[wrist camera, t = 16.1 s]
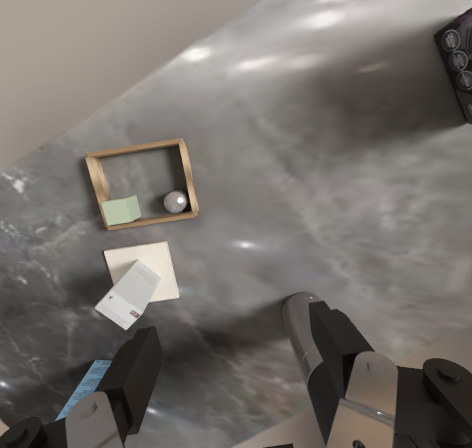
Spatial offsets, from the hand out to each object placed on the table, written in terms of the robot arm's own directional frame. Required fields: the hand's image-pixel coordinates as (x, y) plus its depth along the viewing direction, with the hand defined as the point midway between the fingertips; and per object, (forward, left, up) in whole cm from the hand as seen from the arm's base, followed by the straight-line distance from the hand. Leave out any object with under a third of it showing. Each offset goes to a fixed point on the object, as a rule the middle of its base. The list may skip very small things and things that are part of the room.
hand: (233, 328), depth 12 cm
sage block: (+4, +19, -34) cm, 39 cm away
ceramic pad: (-10, +19, -34) cm, 40 cm away
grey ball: (+4, +9, -34) cm, 36 cm away
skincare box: (-10, +19, -34) cm, 40 cm away
